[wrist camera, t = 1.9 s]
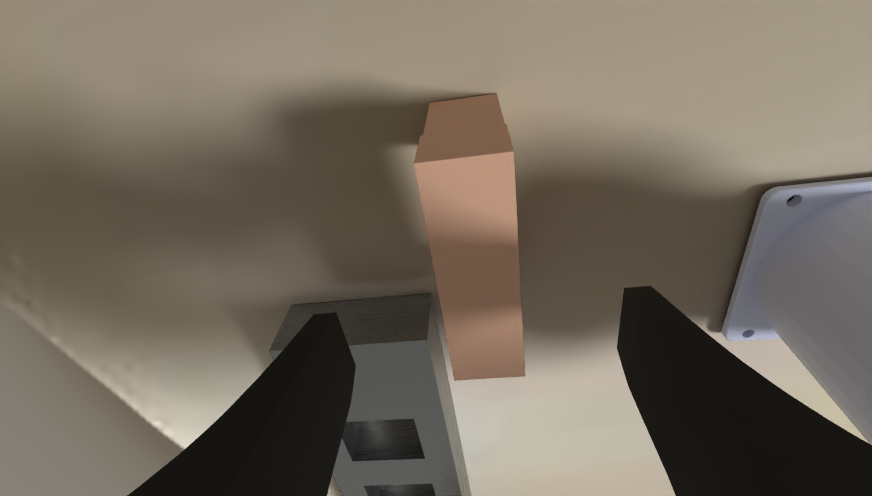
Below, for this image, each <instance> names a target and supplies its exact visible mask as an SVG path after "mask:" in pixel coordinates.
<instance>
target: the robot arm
mask: <svg viewBox="0 0 872 496" xmlns="http://www.w3.org/2000/svg"><path fill="white" fill-rule="evenodd" d="M794 195H795V197H794V198H793V199H792V200H791V201H789V202H787V200H788V199H789V198H790V197H791V196H794ZM722 334H723V335H724V337H725V338H726V339H727V340H729V341H746V340H761V339H776V338H781V339H782V340H783V341H784V342H785V344H786V345H787V346H788V347H789V348H790V350H791V351H792V352H793V353H794V354H795V355H796V357H797V358H798V359H799V360H800V361H801V363H802V364H803V365H804V366H805V367H806V369H807V370H808V371H809V372H810V373H811V375H812V376H813V377H814V378H815V379H816V380H817V382H818V383H819V384H820V385H821V386H822V388H823V389H824V390H825V391H826V392H827V394H828V395H829V396H830V397H831V398H832V400H833V401H834V402H835V403H836V404H837V405H838V407H839V408H840V409H841V410H842V411H843V413H844V414H845V415H846V416H847V417H848V419H849V420H850V421H851V422H852V423H853V424H854V426H855V427H856V428H857V429H858V430H859V432H860V433H861V434H862V435H863V436H864V438H865V439H866V440H867V441H868V442H869V443H867V442H865V441H863V440H861V439H860V438H858V437H856V436H854V435H853V434H851V433H849V432H848V431H846V430H844V429H843V428H841V427H839V426H838V425H836V424H834V423H833V422H831V421H829V420H828V419H826V418H825V417H823V416H822V415H820V414H818V413H817V412H815V411H814V410H812V409H811V408H809V407H808V406H806V405H804V404H803V403H801V402H800V401H798V400H797V399H795V398H793V397H792V396H790V395H789V394H787V393H786V392H784V391H783V390H782V389H780V388H779V387H777V386H776V385H774V384H773V383H771V382H770V381H769V380H767V379H766V378H764V377H763V376H762V375H760V374H759V373H758V372H756V371H755V370H753V369H752V368H751V367H749V366H748V365H746V364H745V363H744V362H742V361H741V360H740V359H738V358H737V357H736V356H735V355H733V354H732V353H731V352H729V351H728V350H727V349H726V348H724V347H723V346H722V345H721V344H719V343H718V342H717V341H716V340H714V339H713V338H712V337H711V336H709V335H708V334H707V333H706V332H704V331H703V330H702V329H701V328H700V327H698V326H697V325H696V324H695V323H694V322H692V321H691V320H690V319H689V318H688V317H686V316H685V315H684V314H683V313H682V312H681V311H679V310H678V309H677V308H676V307H675V306H674V305H672V304H671V303H670V302H669V301H668V300H667V299H665V298H664V297H663V296H662V295H661V294H660V293H658V292H657V291H656V290H655V289H654V288H652V287H651V286H644V287H632V288H624V293H623V302H622V310H621V318H620V327H619V335H618V344H617V350H618V353H619V356H620V360H621V363H622V367H623V370H624V373H625V377H626V380H627V383H628V386H629V389H630V391H631V393H632V396H633V398H634V400H635V402H636V405H637V407H638V409H639V412H640V414H641V416H642V419H643V421H644V423H645V425H646V428H647V430H648V432H649V434H650V436H651V439H652V441H653V443H654V446H655V448H656V450H657V452H658V455H659V457H660V459H661V461H662V464H663V466H664V468H665V470H666V473H667V475H668V477H669V480H670V482H671V485H672V487H673V490H674V492H675V495H676V496H872V177H866V178H856V179H846V180H837V181H827V182H817V183H808V184H798V185H789V186H779V187H774V188H772V189H770V190H768V191H767V192H766V193H765V194H763V196H762V198H761V200H760V203H759V206H758V210H757V213H756V216H755V220H754V223H753V226H752V230H751V233H750V237H749V240H748V243H747V247H746V250H745V253H744V257H743V260H742V264H741V267H740V270H739V274H738V277H737V280H736V284H735V287H734V291H733V294H732V297H731V301H730V304H729V307H728V311H727V314H726V317H725V321H724V324H723V328H722ZM355 369H356V365H355V362H354V359H353V357H352V354H351V351H350V348H349V346H348V343H347V340H346V337H345V335H344V332H343V329H342V326H341V324H340V321H339V318H338V316H337V313H336V312H334V313H322V314H314V315H313V316H312V317H311V318H310V319H309V320H308V322H307V323H306V324H305V325H304V326H303V327H302V328H301V330H300V331H299V332H298V333H297V334H296V335H295V337H294V338H293V339H292V340H291V341H290V342H289V344H288V345H287V346H286V347H285V348H284V349H283V351H282V352H281V353H280V354H279V355H278V356H277V357H276V359H275V360H274V361H273V362H272V363H271V364H270V365H269V367H268V368H267V369H266V370H265V371H264V372H263V373H262V374H261V376H260V377H259V378H258V379H257V380H256V381H255V382H254V383H253V384H252V385H251V386H250V387H249V388H248V389H247V390H246V391H245V392H244V393H243V394H242V395H241V396H240V398H239V399H238V400H237V401H236V402H235V403H234V404H233V405H232V406H231V407H230V408H229V409H228V410H227V411H226V412H225V413H224V414H223V415H222V416H221V417H220V418H219V419H218V420H217V421H216V422H215V423H214V424H212V425H211V426H210V427H209V428H208V429H207V430H206V431H205V432H204V433H203V434H202V435H200V436H199V437H198V438H197V439H196V440H195V441H194V442H193V443H192V444H190V445H189V446H188V447H187V448H186V449H185V450H184V451H182V452H181V453H180V454H179V455H178V456H176V457H175V458H174V459H173V460H172V461H170V462H169V463H168V464H167V465H165V466H164V467H163V468H162V469H160V470H159V471H158V472H157V473H155V475H153V476H152V477H150V478H149V479H148V480H147V481H146V482H144V483H143V484H142V485H141V486H139V487H138V488H137V489H135V490H134V491H133V492H132V493H130V494H129V495H127V496H327V493H328V488H329V484H330V481H331V477H332V473H333V469H334V466H335V462H336V458H337V454H338V451H339V447H340V443H341V439H342V436H343V432H344V428H345V424H346V420H347V417H348V413H349V409H350V405H351V399H352V392H353V386H354V377H355Z"/></svg>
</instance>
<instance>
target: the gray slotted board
mask: <svg viewBox="0 0 872 496" xmlns="http://www.w3.org/2000/svg"><path fill="white" fill-rule="evenodd" d="M334 312H336V313H337V316H338V318H339V321H340V324H341V326H342V329H343V332H344V335H345V337H346V340H347V343H348V346H349V348H350V351H351V354H352V357H353V359H354V362H355V365H356V369H355V377H354V386H353V392H352V399H351V405H350V409H349V413H348V417H347V420H346V424H345V428H344V432H343V436H342V439H341V443H340V447H339V451H338V454H337V458H336V462H335V466H334V469H333V473H332V475H333V477H334V479H335V481H336V483H337V485H338V487H339V489H340V491H341V493H342V495H343V496H471V492H470V487H469V482H468V477H467V472H466V467H465V462H464V457H463V452H462V447H461V442H460V437H459V431H458V426H457V421H456V416H455V411H454V406H453V401H452V396H451V391H450V386H449V381H448V376H447V371H446V366H445V361H444V356H443V351H442V346H441V341H440V335H439V330H438V325H437V320H436V315H435V310H434V305H433V300H432V295H431V294H420V295H408V296H396V297H384V298H373V299H361V300H349V301H337V302H325V303H313V304H301V305H291V307H290V309H289V311H288V313H287V315H286V317H285V319H284V321H283V323H282V325H281V327H280V330H279V332H278V334H277V336H276V338H275V340H274V342H273V344H272V346H271V348H270V350H269V352H270V354H271V356H272V358H273V360H275V359H276V357H277V356H278V355H279V354H280V353H281V352H282V351H283V349H284V348H285V347H286V346H287V345H288V344H289V342H290V341H291V340H292V339H293V338H294V337H295V335H296V334H297V333H298V332H299V331H300V330H301V328H302V327H303V326H304V325H305V324H306V323H307V322H308V320H309V319H310V318H311V317H312V316H313V315H314V314H322V313H334Z"/></svg>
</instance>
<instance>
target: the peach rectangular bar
mask: <svg viewBox="0 0 872 496" xmlns="http://www.w3.org/2000/svg"><path fill="white" fill-rule="evenodd" d="M414 166H415V172H416V177H417V182H418V188H419V193H420V198H421V204H422V209H423V215H424V220H425V225H426V231H427V236H428V241H429V247H430V252H431V257H432V263H433V268H434V274H435V279H436V284H437V290H438V295H439V300H440V306H441V311H442V317H443V322H444V327H445V333H446V338H447V343H448V349H449V354H450V359H451V365H452V370H453V376H454V380H468V379H485V378H502V377H519V376H525V363H524V344H523V324H522V304H521V284H520V265H519V245H518V225H517V205H516V186H515V166H514V150H513V147H512V143H511V139H510V136H509V132H508V129H507V125H506V124H505V123H504V119H503V115H502V112H501V108H500V104H499V100H498V96H497V94H490V95H482V96H475V97H468V98H461V99H453V100H446V101H439V102H431V103H430V104H429V109H428V113H427V118H426V123H425V128H424V132H423V135H420V139H419V143H418V148H417V152H416V157H415V161H414Z"/></svg>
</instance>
